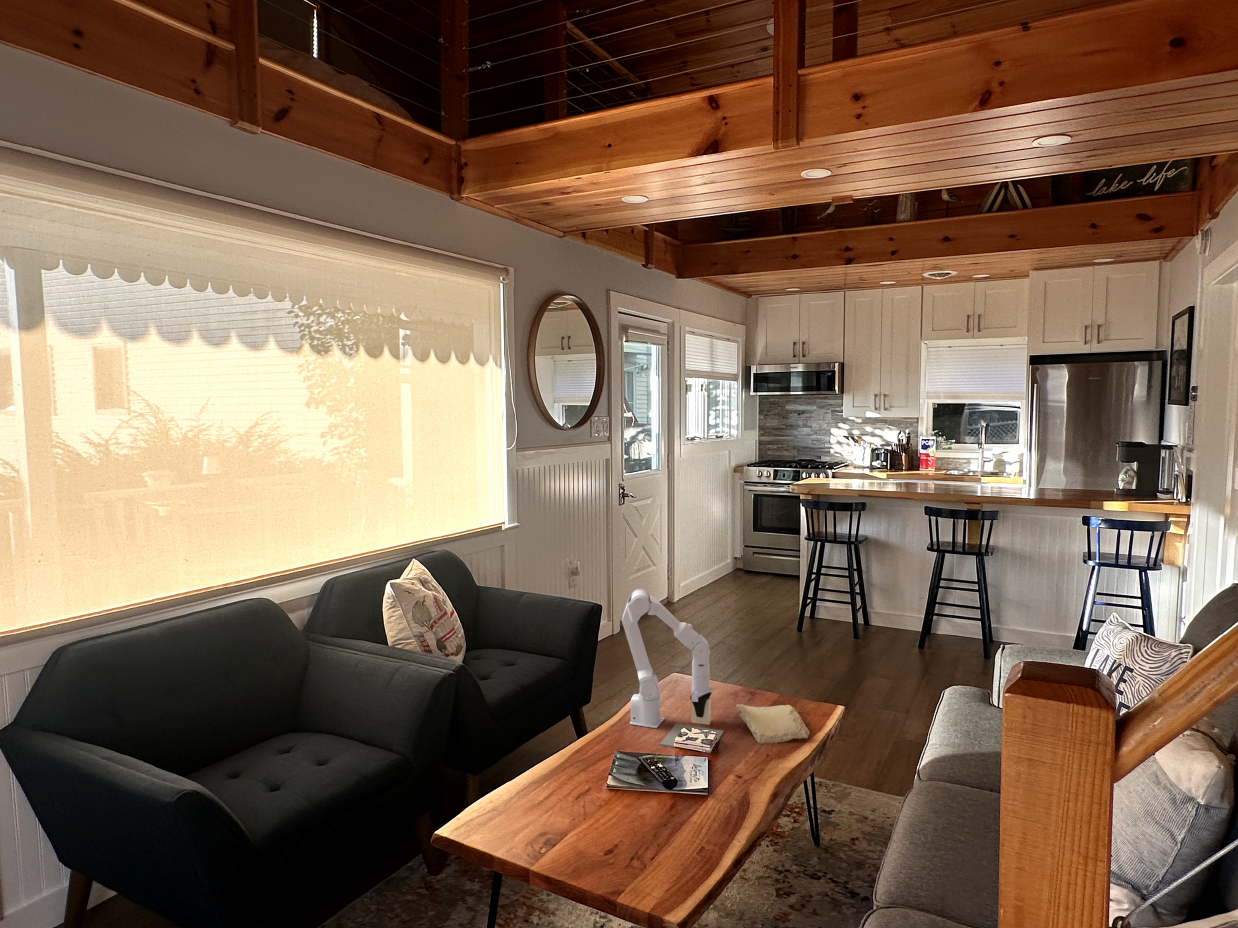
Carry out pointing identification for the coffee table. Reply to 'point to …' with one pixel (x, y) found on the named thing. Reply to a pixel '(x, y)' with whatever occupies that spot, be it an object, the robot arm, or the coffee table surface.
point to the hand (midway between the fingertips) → (701, 715)
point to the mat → (677, 729)
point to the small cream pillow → (773, 723)
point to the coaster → (707, 714)
